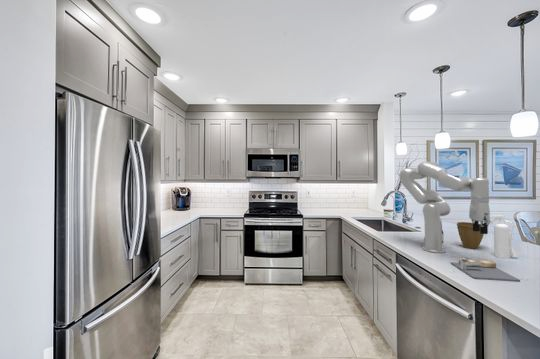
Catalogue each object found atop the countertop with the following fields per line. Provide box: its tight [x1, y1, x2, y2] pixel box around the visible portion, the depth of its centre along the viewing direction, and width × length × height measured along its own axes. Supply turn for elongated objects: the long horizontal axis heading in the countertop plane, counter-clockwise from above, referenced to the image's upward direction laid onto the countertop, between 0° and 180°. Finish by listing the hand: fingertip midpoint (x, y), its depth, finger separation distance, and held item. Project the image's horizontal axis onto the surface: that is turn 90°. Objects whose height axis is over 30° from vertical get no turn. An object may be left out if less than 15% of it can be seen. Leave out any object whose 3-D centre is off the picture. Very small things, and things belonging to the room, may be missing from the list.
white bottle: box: [489, 214, 519, 259], centre depth 140 cm, size 7×12×25 cm, turn 58°
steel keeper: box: [460, 261, 483, 270], centre depth 121 cm, size 2×9×4 cm, turn 78°
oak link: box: [458, 257, 497, 268], centre depth 125 cm, size 15×4×3 cm, turn 78°
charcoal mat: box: [450, 261, 521, 283], centre depth 120 cm, size 20×18×1 cm
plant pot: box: [456, 221, 485, 250], centre depth 159 cm, size 15×15×16 cm
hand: (480, 232), depth 131 cm, fingers open, 5 cm apart
